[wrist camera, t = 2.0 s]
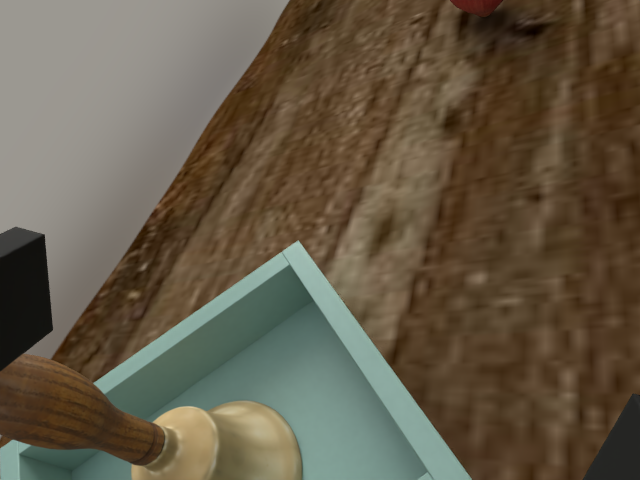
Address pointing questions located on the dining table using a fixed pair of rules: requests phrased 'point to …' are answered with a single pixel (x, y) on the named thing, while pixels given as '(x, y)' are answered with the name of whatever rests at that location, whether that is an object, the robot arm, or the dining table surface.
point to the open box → (270, 384)
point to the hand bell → (145, 428)
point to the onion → (477, 6)
